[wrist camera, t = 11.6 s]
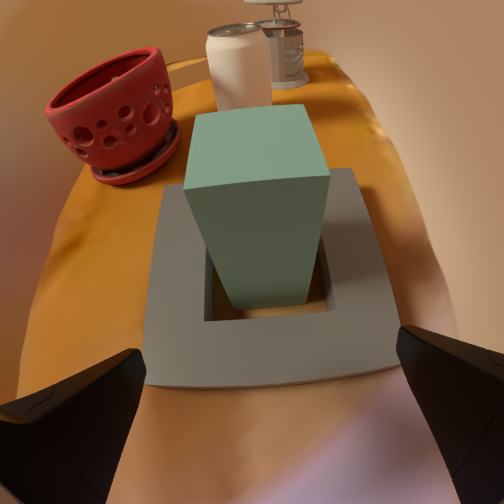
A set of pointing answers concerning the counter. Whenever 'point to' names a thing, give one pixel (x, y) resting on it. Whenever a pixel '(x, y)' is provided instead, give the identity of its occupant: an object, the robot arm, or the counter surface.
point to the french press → (283, 47)
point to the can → (239, 66)
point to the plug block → (259, 200)
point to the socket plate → (270, 328)
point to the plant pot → (119, 116)
